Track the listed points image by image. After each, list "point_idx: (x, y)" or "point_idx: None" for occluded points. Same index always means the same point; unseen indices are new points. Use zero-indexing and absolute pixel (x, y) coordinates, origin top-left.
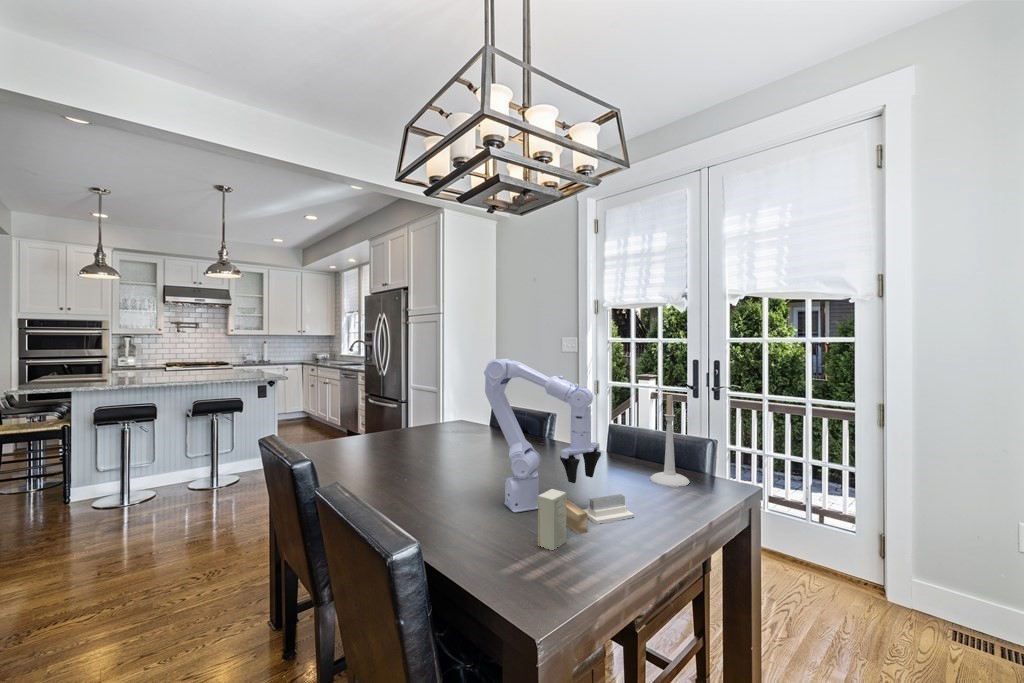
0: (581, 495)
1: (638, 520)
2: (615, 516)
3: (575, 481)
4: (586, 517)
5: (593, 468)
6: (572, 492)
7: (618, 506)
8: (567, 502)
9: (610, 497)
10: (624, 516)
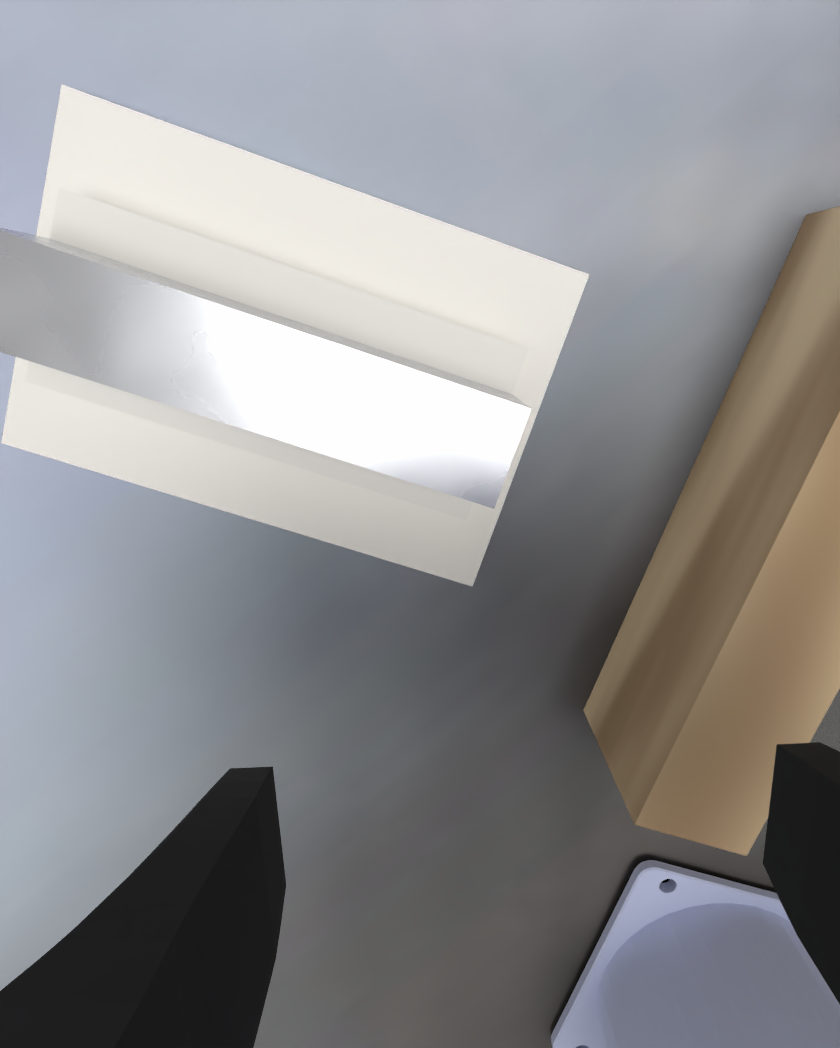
0: (97, 874)
1: (98, 11)
2: (317, 204)
3: (807, 753)
4: None
5: (192, 884)
6: None
7: (152, 270)
8: (793, 620)
9: (208, 347)
10: (214, 139)
